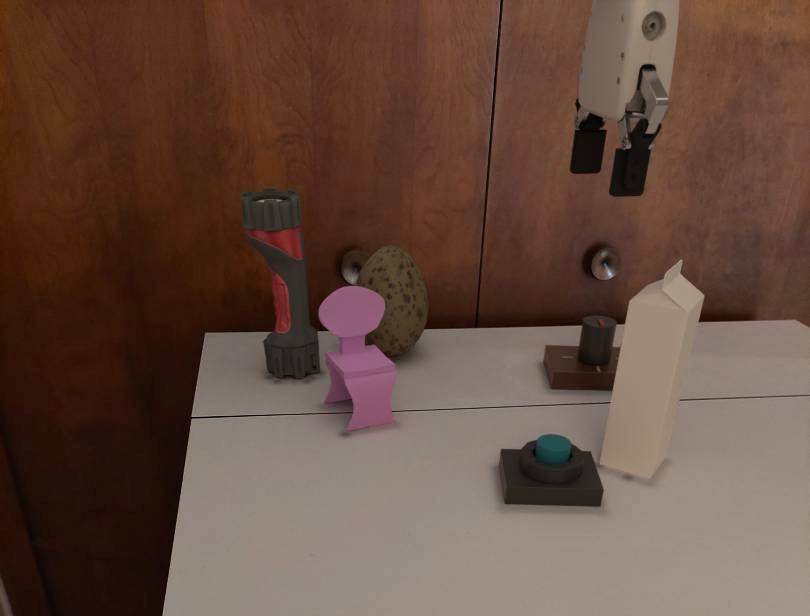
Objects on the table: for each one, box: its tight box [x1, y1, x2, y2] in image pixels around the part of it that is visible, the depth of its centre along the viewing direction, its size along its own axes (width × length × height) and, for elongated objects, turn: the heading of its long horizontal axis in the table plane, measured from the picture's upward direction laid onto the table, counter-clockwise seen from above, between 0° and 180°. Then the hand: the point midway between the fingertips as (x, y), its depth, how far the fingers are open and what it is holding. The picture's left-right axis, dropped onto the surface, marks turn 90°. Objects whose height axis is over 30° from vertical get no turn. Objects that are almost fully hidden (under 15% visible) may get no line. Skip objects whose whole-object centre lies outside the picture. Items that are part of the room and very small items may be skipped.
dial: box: [577, 315, 618, 365], centre depth 107 cm, size 4×4×6 cm
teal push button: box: [535, 433, 572, 464], centre depth 84 cm, size 4×4×2 cm
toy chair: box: [317, 285, 397, 432], centre depth 95 cm, size 8×9×15 cm
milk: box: [599, 258, 705, 480], centre depth 85 cm, size 6×6×22 cm
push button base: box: [498, 439, 605, 508], centre depth 85 cm, size 10×8×4 cm
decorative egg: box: [354, 245, 429, 357], centre depth 111 cm, size 11×11×15 cm
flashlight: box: [240, 186, 321, 379], centre depth 103 cm, size 8×8×23 cm
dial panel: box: [542, 344, 621, 391], centre depth 109 cm, size 12×9×3 cm
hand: (604, 183), depth 78 cm, fingers open, 9 cm apart
